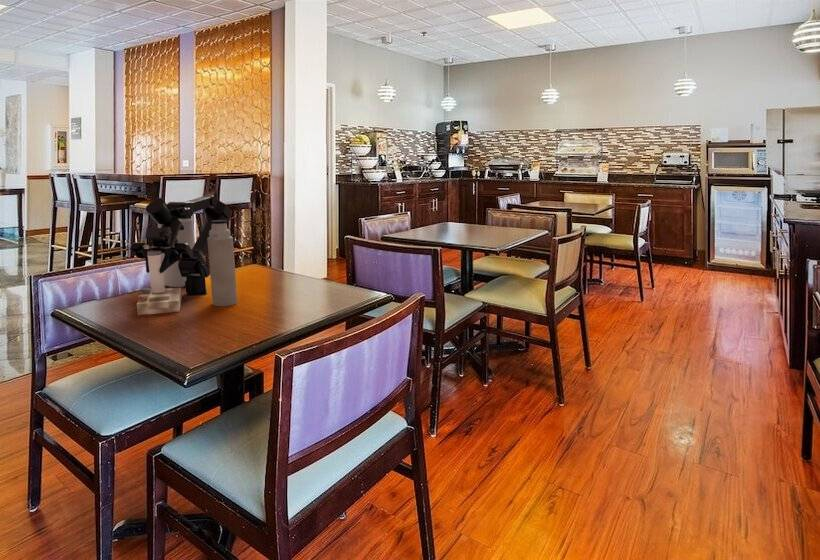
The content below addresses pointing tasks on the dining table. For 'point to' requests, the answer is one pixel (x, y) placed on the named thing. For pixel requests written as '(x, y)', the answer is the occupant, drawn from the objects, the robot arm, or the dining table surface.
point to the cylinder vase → (173, 273)
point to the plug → (156, 271)
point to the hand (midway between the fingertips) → (153, 272)
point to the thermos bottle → (222, 264)
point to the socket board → (159, 301)
